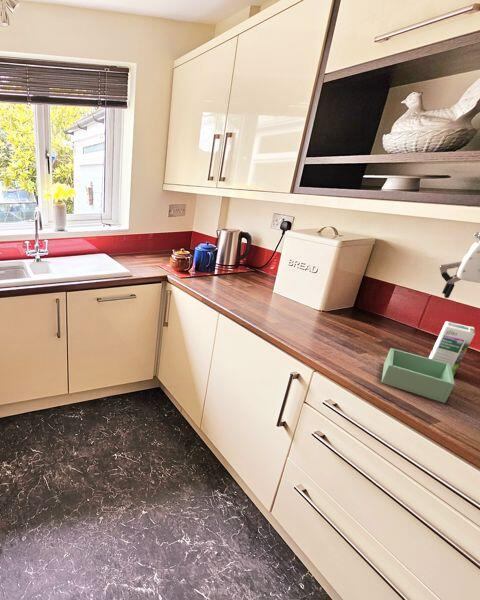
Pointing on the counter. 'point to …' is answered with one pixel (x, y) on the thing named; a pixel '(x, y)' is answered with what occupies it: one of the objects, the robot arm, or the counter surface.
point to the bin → (418, 375)
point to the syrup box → (452, 344)
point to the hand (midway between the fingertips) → (470, 301)
